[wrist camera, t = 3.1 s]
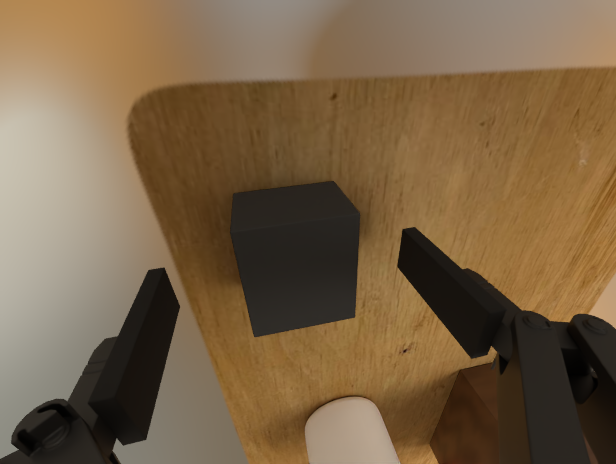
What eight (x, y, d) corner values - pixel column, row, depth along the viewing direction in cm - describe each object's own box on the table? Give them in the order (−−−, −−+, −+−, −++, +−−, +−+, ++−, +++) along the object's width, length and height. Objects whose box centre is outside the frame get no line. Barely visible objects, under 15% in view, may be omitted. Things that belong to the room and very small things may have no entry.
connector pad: (232, 193, 16) (229, 232, 12) (333, 180, 17) (360, 213, 13) (252, 285, 19) (254, 337, 16) (334, 271, 20) (355, 317, 17)
